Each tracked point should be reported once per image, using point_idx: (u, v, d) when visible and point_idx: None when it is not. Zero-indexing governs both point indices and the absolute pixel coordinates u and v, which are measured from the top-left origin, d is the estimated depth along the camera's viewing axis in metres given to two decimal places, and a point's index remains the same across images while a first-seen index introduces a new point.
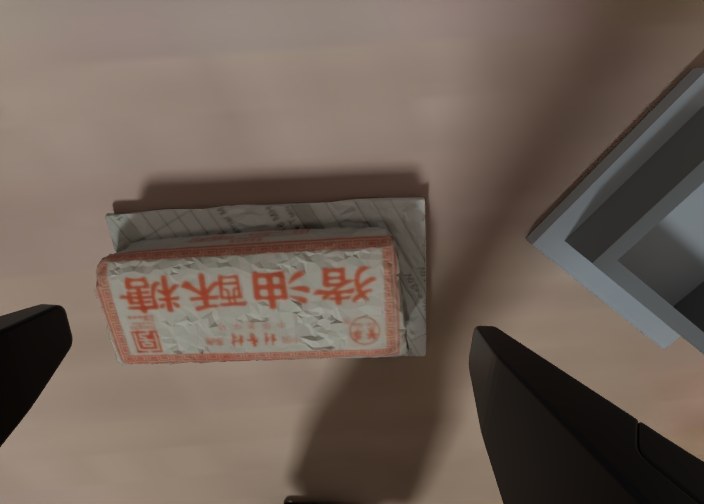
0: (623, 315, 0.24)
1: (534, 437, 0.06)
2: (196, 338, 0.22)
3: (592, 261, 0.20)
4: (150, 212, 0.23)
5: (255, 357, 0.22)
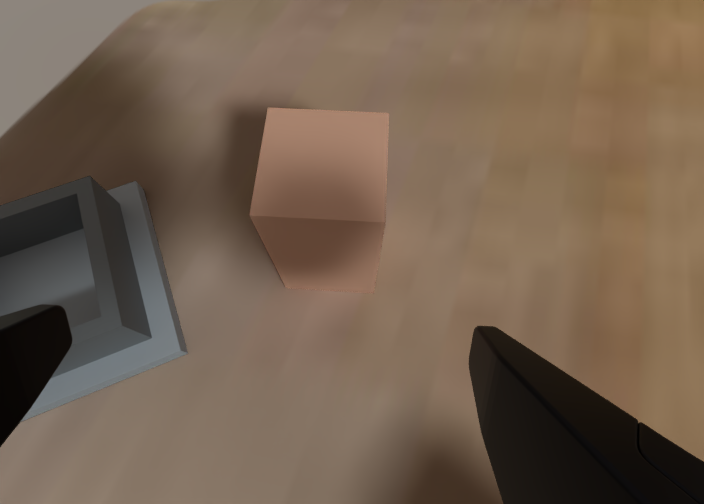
0: (107, 378, 0.21)
1: (534, 437, 0.06)
2: None
3: None
4: None
5: None
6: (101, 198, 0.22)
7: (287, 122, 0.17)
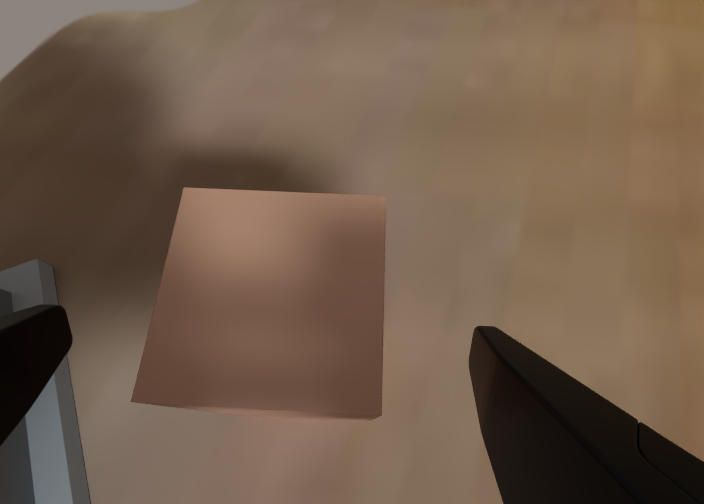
0: None
1: (534, 437, 0.06)
2: None
3: None
4: None
5: None
6: None
7: (215, 214, 0.10)
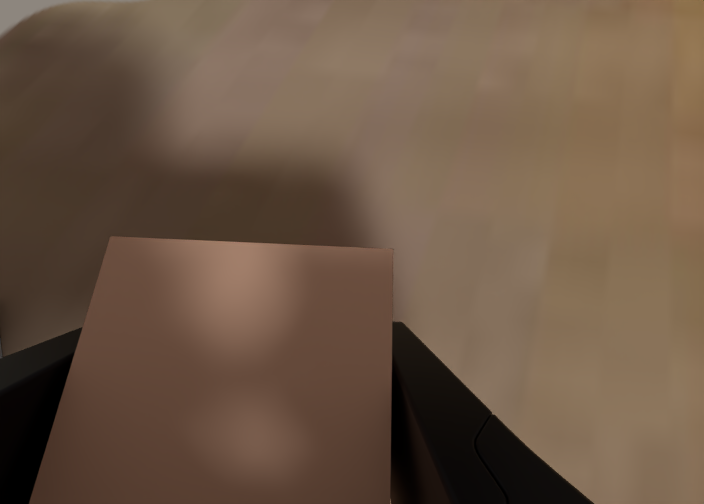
0: None
1: (402, 430, 0.06)
2: None
3: None
4: None
5: None
6: None
7: (152, 276, 0.07)
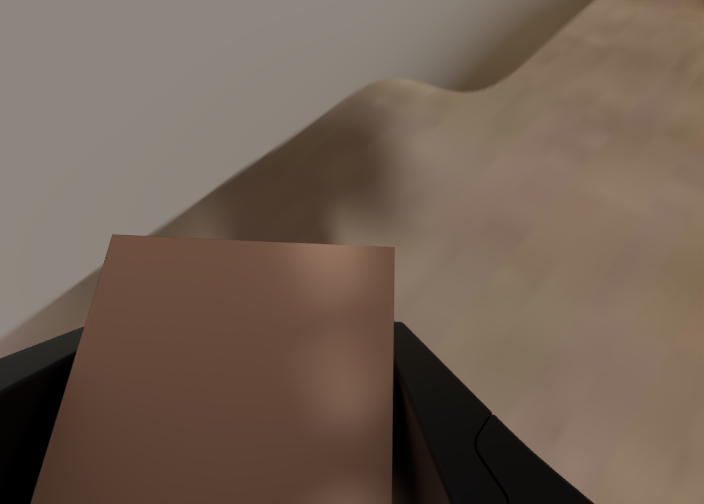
0: None
1: (402, 430, 0.06)
2: None
3: None
4: None
5: None
6: None
7: (153, 274, 0.07)
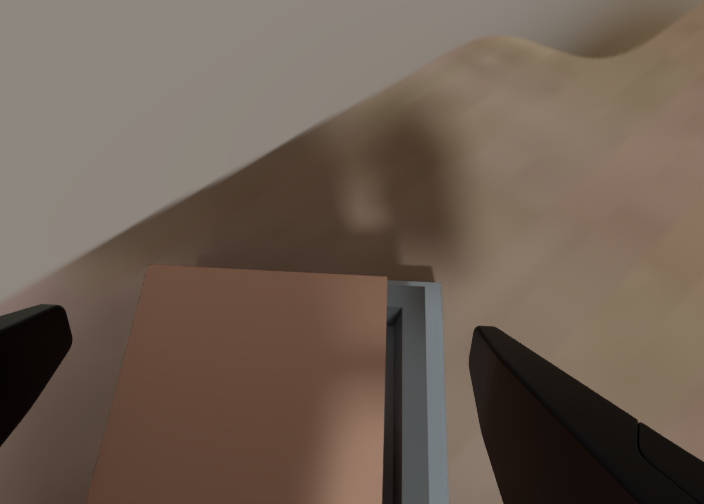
0: None
1: (534, 437, 0.06)
2: None
3: None
4: None
5: None
6: None
7: (184, 299, 0.08)
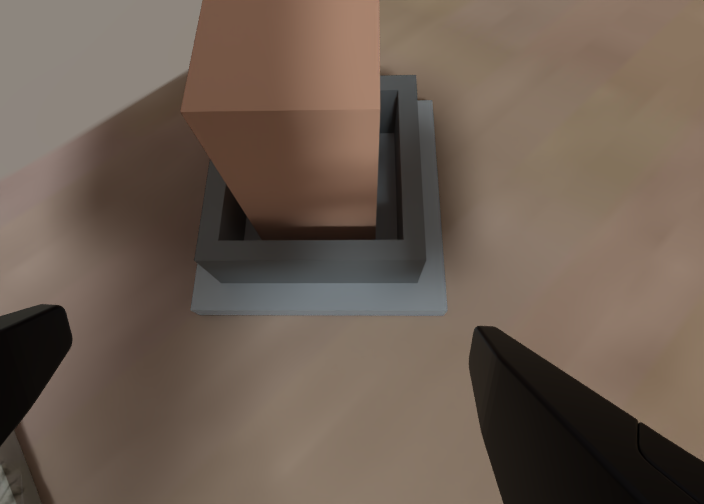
0: (359, 308, 0.17)
1: (534, 437, 0.06)
2: None
3: (195, 259, 0.15)
4: None
5: None
6: None
7: None
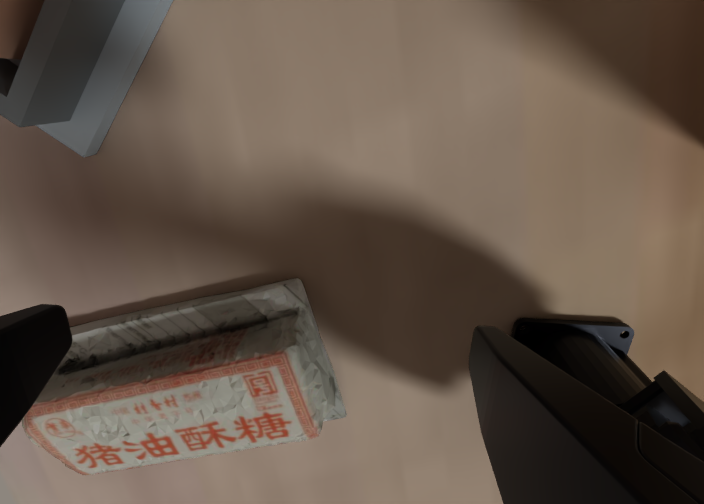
0: (148, 17, 0.17)
1: (534, 437, 0.06)
2: (211, 395, 0.21)
3: (19, 125, 0.17)
4: None
5: (148, 386, 0.21)
6: None
7: None
